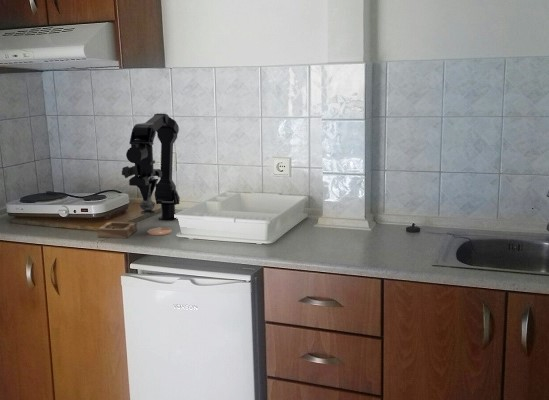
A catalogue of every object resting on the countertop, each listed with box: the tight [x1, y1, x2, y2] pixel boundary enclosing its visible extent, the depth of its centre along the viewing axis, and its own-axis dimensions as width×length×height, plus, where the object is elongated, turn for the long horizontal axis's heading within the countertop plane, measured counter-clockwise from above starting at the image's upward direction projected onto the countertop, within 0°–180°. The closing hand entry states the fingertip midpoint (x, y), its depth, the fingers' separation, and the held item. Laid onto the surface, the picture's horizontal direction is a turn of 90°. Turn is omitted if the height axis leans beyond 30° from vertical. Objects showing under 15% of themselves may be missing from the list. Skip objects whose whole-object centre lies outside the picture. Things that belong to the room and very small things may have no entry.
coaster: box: [147, 227, 173, 236], centre depth 233 cm, size 9×9×1 cm
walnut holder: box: [96, 221, 138, 239], centre depth 231 cm, size 11×11×3 cm
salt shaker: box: [139, 189, 156, 215], centre depth 230 cm, size 6×6×12 cm
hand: (147, 199), depth 230 cm, fingers closed on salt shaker, 3 cm apart
